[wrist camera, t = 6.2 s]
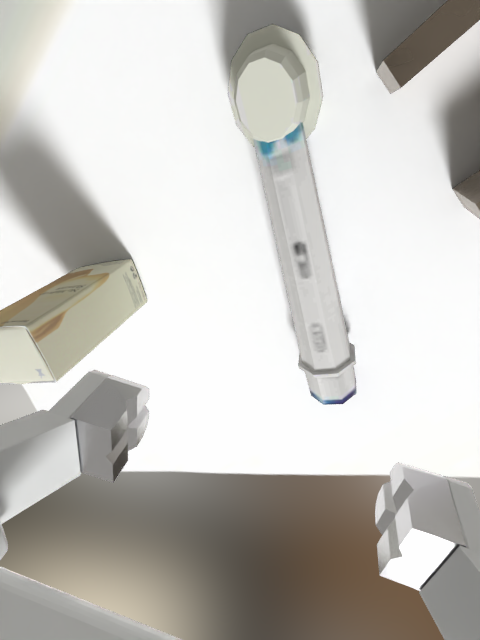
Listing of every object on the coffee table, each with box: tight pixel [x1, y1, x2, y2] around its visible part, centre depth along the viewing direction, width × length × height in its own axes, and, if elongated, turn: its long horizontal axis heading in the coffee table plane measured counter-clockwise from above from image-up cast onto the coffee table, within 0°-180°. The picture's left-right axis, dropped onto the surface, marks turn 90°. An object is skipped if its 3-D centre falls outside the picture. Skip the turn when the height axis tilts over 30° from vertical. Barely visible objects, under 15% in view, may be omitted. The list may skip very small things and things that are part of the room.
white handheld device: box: [228, 24, 356, 405], centre depth 25 cm, size 5×7×25 cm
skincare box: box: [0, 259, 147, 384], centre depth 28 cm, size 6×4×12 cm
